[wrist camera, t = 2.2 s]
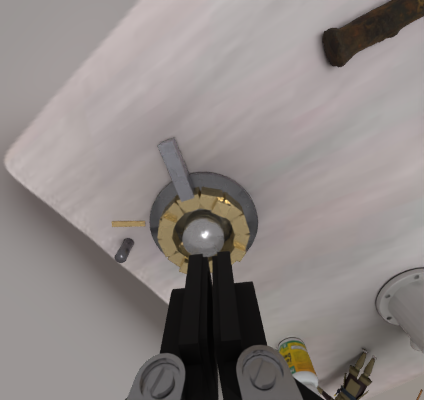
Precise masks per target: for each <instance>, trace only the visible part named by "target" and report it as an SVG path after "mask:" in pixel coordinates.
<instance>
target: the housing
mask: <svg viewBox="0 0 424 400" xmlns="http://www.w3.org/2000/svg"><path fill="white" fill-rule="evenodd" d="M189 175H190V178H191V180H192V183H193V186H194V188H196V187H199V188H200V191H201V188H202V186H203V187H208V188H214V189H219V190H222V191H223V193H224V192H226V193H228V194H229V195H230V196H231V197H232V198H234V199H235V200H236V201H237V202H238V203H240V205H241V206H242V209H243V212H244V215H245V218H246V221H247V225H248V228H249V232H250V233H249V234H250V236H249V240H248V243H247V246H246V252H247V251H248V249H249V248H250V247H251V245H252V243H253V241H254V239H255V237H256V233H257V229H258V217H257V212H256V209H255V206H254V204H253V201H252V199H251V197H250V196H249V194H248V193H247V192H246V190H245V189H244V188H243V187H242V186H241V185H239V184H238V183H237V182H235V181H234V180H232V179H230V178H228V177H226V176H223V175H220V174H216V173H210V172H197V173H191V174H189ZM176 195H178V193H177V190H176V188H175V186H174V183H173V181H172V182H171V183H169V184H168V185H167V186H166V187H165V188H164V189H163V190H162V191H161V192H160V194H159V195H158V197H157V198H156V200H155V202H154V204H153V207H152V210H151V214H150V230H151V234H152V237H153V239H154V241H155V243H156V245H157V246H158V248H159V249H160V250H161V252H163V250H162V248H161V246H160V244H159V242H158V238H157V237H158V228H159V221H160V218H161V215H162V213H163V211H164V208H165V207H166V206H167V205H168V204H169V203H170V202H171V200H172V199H173V198H174V197H175V196H176ZM131 226H145V221H114V222H112V227H131ZM175 230H176V232H177V235H178V237H179V239H180V241H181V242H183V245H184V247H185V249H186V250H187V251H188V252H189V253H190V254H192V255H193V254H203V257H211V256H213V255H215V254H217V252H219V251H220V250H221V249H222V247H223V244H224V243H225V242H226V241H227V240H228V239H229V238H230V235H231V232H232V225H231V222H230V221H229V220H228V219H227V218H225V217H224V218H223V217H221V216H219V215H216V214H214V213H212V212H211V210H207V209H197V210H194V211H191V212H188V213H185V214H184V215H183V216H182V217H181V218H180V219H179V220H178V221H177V222H176V225H175ZM133 245H134V242H133V240H132V239H129V238H127V239H125V240H124V241H123V243H122V245H121V247H120V248H119V250H118V252H117V254H116V255H115V260H116V261H117V262H119V263H123V262H125V261H126V259H127V257H128V255H129V253H130V251H131V249H132V247H133ZM163 253H164V252H163Z"/></svg>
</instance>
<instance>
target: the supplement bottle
mask: <svg viewBox="0 0 424 400" xmlns="http://www.w3.org/2000/svg"><path fill="white" fill-rule="evenodd" d="M278 351H279V353H280V354H281V355H282V356H283V357H284V359H285V360H286V362H287V364H288V366H289V368H290V371H291V373H292V375H293V377H294V378H296V379H297V380H298V381H300V382H301V383H302V384H304V385H305V386H306V387H308V388H309V389H310V390H312V391H313V392H314V393H316V394H317V395H319V392H318V390H317V386H318V378H317V375H316V373H315V370H314V368H313V365H312V362H311V360H310V357H309V355H308V352H307V349H306V347H305V344H304V343H303V342H302V341H301V340H300V339H297V338H288V339H285V340H284V341H282V342H281V343H280V344H279V347H278ZM319 396H320V395H319Z"/></svg>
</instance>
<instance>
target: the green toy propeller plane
mask: <svg viewBox="0 0 424 400" xmlns="http://www.w3.org/2000/svg"><path fill="white" fill-rule="evenodd" d="M363 351H364V353H363V354H362V355H361V357H360V358H359V360H358V361H357V363H356V364H355V367H354V366H353V367H352V366H351V365H350V369H349V374H348V376H347V379H346V374H347V373H345V375H344V385H343V386H342V385H341V388H340V389H338V390H337V393H339V394H338V395H337V397H336V398H335V400H359V399H360V398H361V397H363V396H364V395H365V394H366V393H367V392H368V391H369V390H368V391H367V392H366V393H365V394H363V393H364V391H365V389H366V388H367V386H369V385H370V384H371V383H372V381H371V380H370V378H368V376H370V374H371V372H372V368H373V365H374V362H375V359H376V360H377V358H376V357H375V356H374V355H373V356H372V357H373V358H372V359H371V360H370V362H369V363H368V364H367V366H366V367H365V370H364V373H363V374H361V376H360V378H359V379H358V380H357V376H358V374H359V372H360V371H359V370H360V369H361V368H362V367H363V364H364V361H365V358H366V354H367V353H368V351H366V350H365V349H363ZM317 390H318V392H319V393H320V394H322V395H323V396H324V398H325V399H326V400H334V399H333V398H332V397H331V396H329V395H328V394H327V393H326V392H324V391H323V390H322V389H321V388H320V387H318V386H317ZM340 390H341V392H340ZM337 393H336V394H337ZM421 393H422V389H421V391H420V393H419V395H418V397H417V399H416V400H418V399H419V397H420V395H421ZM336 394H335V395H334V396H336Z"/></svg>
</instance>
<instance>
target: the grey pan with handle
mask: <svg viewBox="0 0 424 400" xmlns="http://www.w3.org/2000/svg"><path fill="white" fill-rule="evenodd" d="M158 148H159V151H160V153H161V155H162V158H163V160H164V162H165V165H166V167H167V169H168V172H169V174H170V176H171V179H172V181H173V183H174V186H175V188H176V190H177V193H178V195H176V196H175V197H174V198H173V199H172V200H171V202H170V203H169V204H168V205H167V206H166V207H165V208H164V211H163V213H162V215H161V218H160V221H159V228H158V237H157V238H158V242H159V244H160V246H161V248H162V250H163V252H164V254H165V256H166V257H168V260H170V261H171V262H173V263H174V264H176V265H177V266H179V267H180V269H179V271H180V272H182V273H185V274H187V269H188V261H189V255H192V254H190V253H189V252H188V251H187V250H186V249H185V247H184V245H183V242H181V241H180V239H179V237H178V235H177V232H176V230H175V225H176V222H177V221H178V220H179V219H180V218H181V217H182V216H183V215H184V214H185V213H188V212H191V211H194V210H197V209H207V210H211V212H212V213H214V214H216V215H219V216H221V217H223V218H224V217H225V218H227V219H228V220H229V221H230V222H231V225H232V232H231V235H230V238H229V239H228V240H227V241H226V242H225V243H224V244H223V247H222V249H221V250H220V251H219V252H222V251H230V256H231V264H233V263H234V262H236V261H239V262H240V261H241V260H242V258H243V257H244V255H245V254H246V246H247V243H248V240H249V236H250V234H249V233H250V232H249V228H248V225H247V221H246V218H245V215H244V212H243V209H242V206H241V205H240V203H238V202H237V201H236V200H235V199H234V198H232V197H231V196H230V195H229V194H228V193H226V192H224V193H223V191H222V190H219V189H214V188H208V187H203V186H202V188H201V191H200V188H199V187H196V188H194V186H193V183H192V180H191V178H190V175H189V173H188V170H187V168H186V165H185V163H184V160H183V158H182V155H181V153H180V150H179V147H178V145H177V142H176V140H175V137H174V138H171V139H168V140H166V141H163V142H161V143H160V144H159V145H158ZM213 256H217V254H215V255H213ZM208 260H209V267H210V273H212V256H211V257H208Z"/></svg>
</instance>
